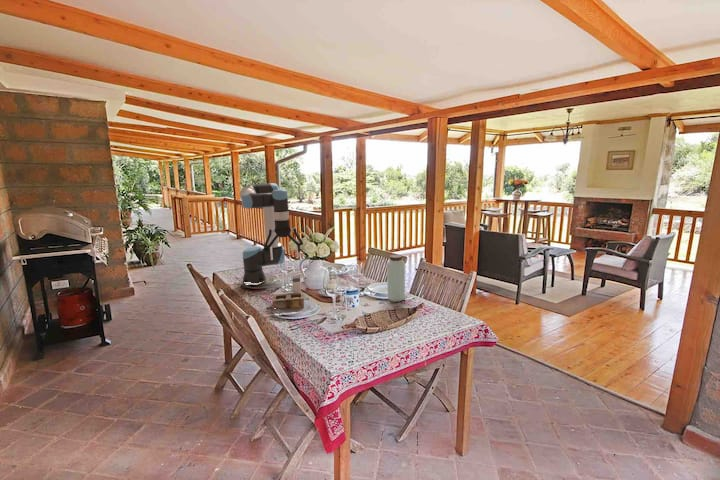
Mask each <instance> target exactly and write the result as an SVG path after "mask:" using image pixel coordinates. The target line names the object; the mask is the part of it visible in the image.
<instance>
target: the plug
mask: <svg viewBox="0 0 720 480" xmlns="http://www.w3.org/2000/svg"><path fill="white" fill-rule="evenodd" d="M292 286H293V287H292V288H293V293H299V292H302V287H301V275H296V276H292Z"/></svg>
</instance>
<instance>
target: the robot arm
mask: <svg viewBox="0 0 720 480" xmlns="http://www.w3.org/2000/svg"><path fill="white" fill-rule="evenodd" d="M239 197H240V199H241V205H242V208H243V209H258V208H262V212H263V223H264V224H263V225H264V236H265V243H264V245H263V248H262V247H260V246H252V247H248V248H246V249H244V250H243V251H242V260H243V261H242V262H243V277H242V284H243V283H244V282H251V283H259V282H263V281H265V280H266V281H267V277H266V275H265V272H264V269H263V267H267V266H274V265H276V266H277V265H282V264H283V263H284V261H285V255H286V254H285V253H286V251H285V247H284V246H283V245H282V243H281V242H280V238H287V237H288V238H289V239H291V241H292V242H293V243H294V244H295V245H296V246H295V249H296V259H299V258H300V257H299V256H300V255H299V253H300V252H301V246H302V245H304V242H303V239H301V237H300V235H299V234H298V232H297V228H296V227H295V226H294V227H293V228H291V225H290V214H289V213H290V212H289V198H288V197H289V195H288V190H287V189H282V188H281V189H280V187H279V185H278V184H277V183H275V182H266V183H251V184H247V185H245V186H243V187H242V188H241V189H240V192H239ZM291 232H292V233H293V234H294V235H295V237H296V238H297V239H296V238H295V237H293V235H292V234H291Z"/></svg>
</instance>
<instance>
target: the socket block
mask: <svg viewBox="0 0 720 480" xmlns="http://www.w3.org/2000/svg"><path fill="white" fill-rule="evenodd" d="M304 294H305V293H304V292H302V291H301V292H299V293H294V292H290V293H289V292H288V293H278V294H273V298H272V310H273V309H274V308H276V309H282V310H292V309H304V308H305V300H304Z"/></svg>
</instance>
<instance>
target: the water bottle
mask: <svg viewBox="0 0 720 480" xmlns="http://www.w3.org/2000/svg"><path fill="white" fill-rule="evenodd" d="M402 258H403V256H402V255H400V254H391V255H389V259H388V260H387V262H386V269H387V270H386V274H387V276H386V277H387V279H386V280H387V284H386V285H387V298H388V300H389V301H391V302H396V303H397V302H401V301H404V300H405V298H406V294H405V293H406V291H405V290H406V289H405V288H406V287H405V286H406V285H405V284H406V283H405V281H406V280H405V278H406V276H405V274H406V273H405V271H406V270H405V268H406V266H405V261H404V259H402Z"/></svg>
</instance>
